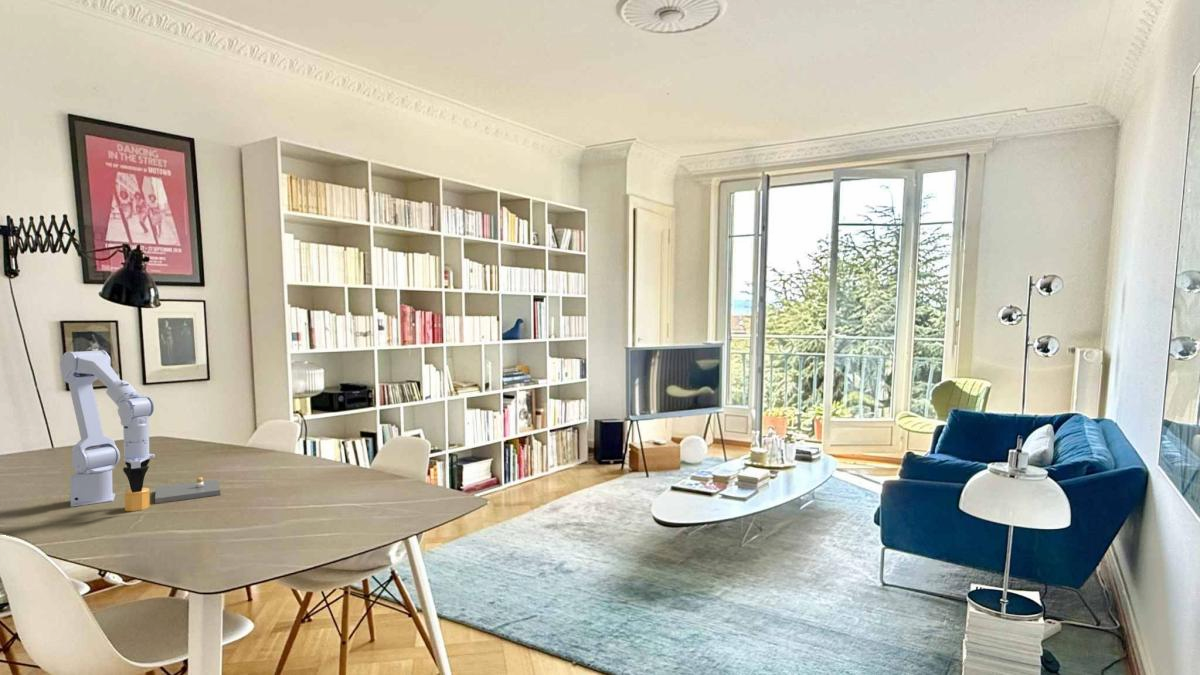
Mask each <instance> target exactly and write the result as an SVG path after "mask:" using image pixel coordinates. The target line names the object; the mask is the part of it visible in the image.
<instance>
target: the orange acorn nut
mask: <svg viewBox="0 0 1200 675" xmlns="http://www.w3.org/2000/svg"><path fill="white" fill-rule="evenodd" d="M150 501H151V500H150V488H149V487H142V491H141V492H133V493H132V491H131V488H130V489H128V490H125V491H124V512H125V511H126V512H137V511H142V510H147V509H148V508H150V506H151V505H150V503H151V502H150Z"/></svg>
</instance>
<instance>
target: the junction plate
mask: <svg viewBox="0 0 1200 675" xmlns="http://www.w3.org/2000/svg"><path fill="white" fill-rule="evenodd" d="M214 496H221V488H220V485H219V480H218V479H217V478H216V479H209V480H204V478H203V477H201V476H200V477H196V481H192V482H185V483H176V484H169V485H168V484H167V485H161V486H160V485H159V486H155V495H154V504H164V503H171V502H177V501H184V500H193V499H200V498H201V499H202V498H209V497H214Z"/></svg>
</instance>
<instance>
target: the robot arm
mask: <svg viewBox="0 0 1200 675" xmlns="http://www.w3.org/2000/svg"><path fill="white" fill-rule="evenodd" d="M111 360H112V359H111V356H110V355H109V354H108V352H107V351H106V350H103V349H99V350H86V351H85V350H84V351H66V352H64V354H62V356H61V359H60V360H59V366H60V370H61V374H62V375H61V376H62V379H63V382H65V383H67V384H68V387H69V391H70V392H69V393H70V396H71V401H72V405H73V409H74V413H75V417H76V418H75V419H76V422H77V427H78V432H79V435H80V440H79V441H77V443H75V444H74V445H73V447H72V448H71V449H70V450H71V467H72V468H73V470H75V471H76V472H74V473H73V472H72V473H71V475H70V493H69V499H70V507H79V506H86V505H87V506H88V505H93V504H102V503H111V502H114V500H115V497H116V493H113V469H115V468H116V466H117V465H118V463H119V461H120V459H121V452H120V451H119V448H118V446H117V445H116V443H115V442H116V441H115V439H114V438H110V437H109V436H106V435H105V434H104V432H103V427H102V423H101V417H100V413H99V409H98V405H97V400H96V396H95V391H94V386H93V383H94V382H95V381H97V380H98V381H100V383H102V384H103V385H104V386H105V387H107V388H106V392H105V393H106V395H107V396H108V397H109V398H110V399H111V401H113V403H114V404H115V405H116V406H117V407H118V408H117V415H118V416H119V418H120V424H121V426H123V430H122V431H123V457H122V460H123V461H124V463H125V465H126V467H125V466H124V467H123V469H122V470H123V473H124V474H125V475H126V478H127V479H128V482H129V487H130V489H131V491H132V493H133V492H141V491H142V488H144V487H143V486H144V482H145V476H146V474H147V471H148V469H149V467H150V466H149V463H150V461H151V458H155V456H156V455H155V453H150V417H151V416H152V415H153V414H154V411H155V405H154V402H153V400H152V398H151V397H150V396H144V395H143V394H142V395H141V394H139V392H138V391H137V390H136V389H135V388H134V387H133V385H132V384H130V382H129V381H127V380H122V379H120V378H119V376H118V374H117V373H116V371H115V370H114V369H113V367H112V366H111V364H112V363H111V362H112V361H111Z"/></svg>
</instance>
